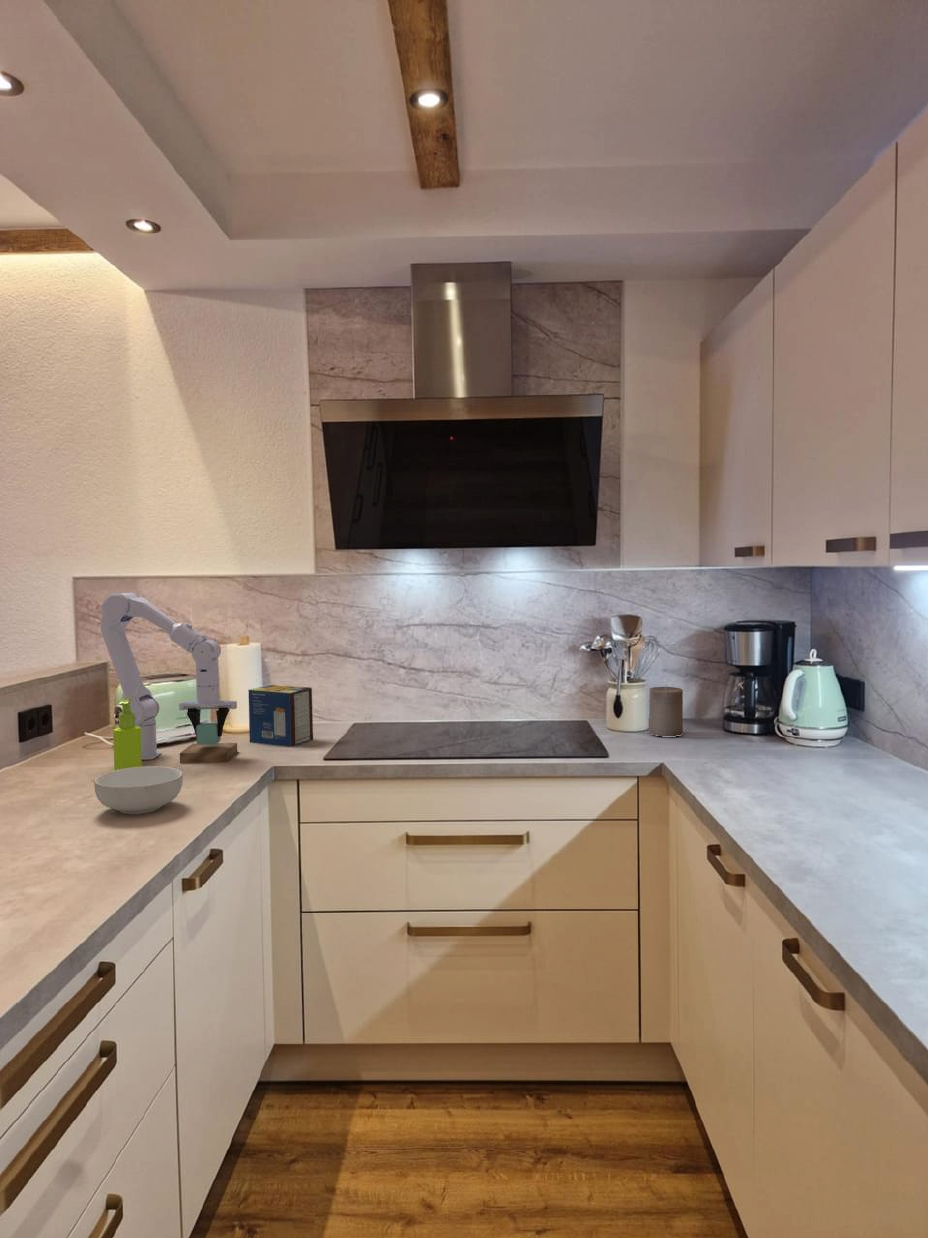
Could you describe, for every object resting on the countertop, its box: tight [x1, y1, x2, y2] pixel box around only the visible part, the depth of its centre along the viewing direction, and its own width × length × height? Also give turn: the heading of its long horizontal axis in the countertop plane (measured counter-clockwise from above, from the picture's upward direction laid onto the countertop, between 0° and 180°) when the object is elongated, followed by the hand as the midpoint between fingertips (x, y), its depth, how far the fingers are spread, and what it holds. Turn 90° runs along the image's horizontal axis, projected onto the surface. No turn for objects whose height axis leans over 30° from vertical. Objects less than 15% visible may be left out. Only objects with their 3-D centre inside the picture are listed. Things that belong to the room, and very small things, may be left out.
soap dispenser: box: [112, 698, 143, 771], centre depth 185 cm, size 6×7×20 cm
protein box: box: [247, 684, 314, 747], centre depth 233 cm, size 10×15×16 cm
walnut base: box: [179, 742, 238, 764], centre depth 213 cm, size 12×12×3 cm
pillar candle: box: [648, 684, 684, 736], centre depth 237 cm, size 10×10×15 cm
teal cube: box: [196, 721, 222, 745], centre depth 212 cm, size 5×5×5 cm
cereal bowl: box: [93, 765, 184, 815], centre depth 166 cm, size 17×17×7 cm
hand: (209, 736), depth 213 cm, fingers closed on teal cube, 5 cm apart
